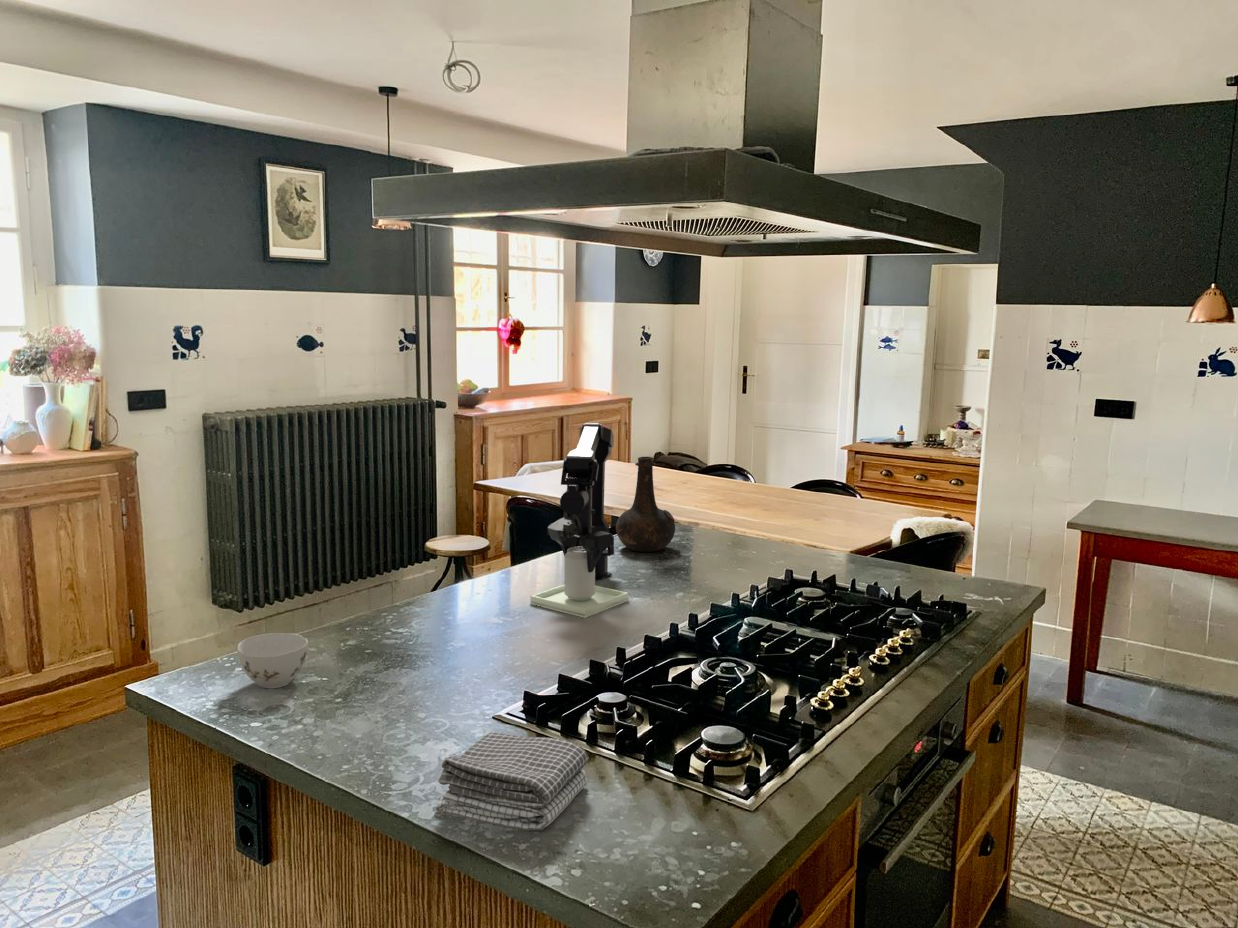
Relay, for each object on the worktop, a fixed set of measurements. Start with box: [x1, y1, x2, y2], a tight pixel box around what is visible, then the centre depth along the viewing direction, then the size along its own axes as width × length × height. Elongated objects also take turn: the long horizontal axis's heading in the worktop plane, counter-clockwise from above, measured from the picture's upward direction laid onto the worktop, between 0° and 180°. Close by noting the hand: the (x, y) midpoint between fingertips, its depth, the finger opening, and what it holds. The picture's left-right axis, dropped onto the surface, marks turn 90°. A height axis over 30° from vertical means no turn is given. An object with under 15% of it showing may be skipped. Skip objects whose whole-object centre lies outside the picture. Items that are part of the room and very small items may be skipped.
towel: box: [435, 732, 590, 832], centre depth 135 cm, size 15×18×8 cm
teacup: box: [237, 632, 309, 689], centre depth 177 cm, size 15×12×8 cm
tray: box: [529, 584, 629, 619], centre depth 228 cm, size 17×17×2 cm
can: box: [563, 546, 596, 600], centre depth 227 cm, size 8×8×12 cm
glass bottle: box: [615, 456, 676, 553], centre depth 280 cm, size 18×18×28 cm
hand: (579, 568), depth 227 cm, fingers closed on can, 7 cm apart
